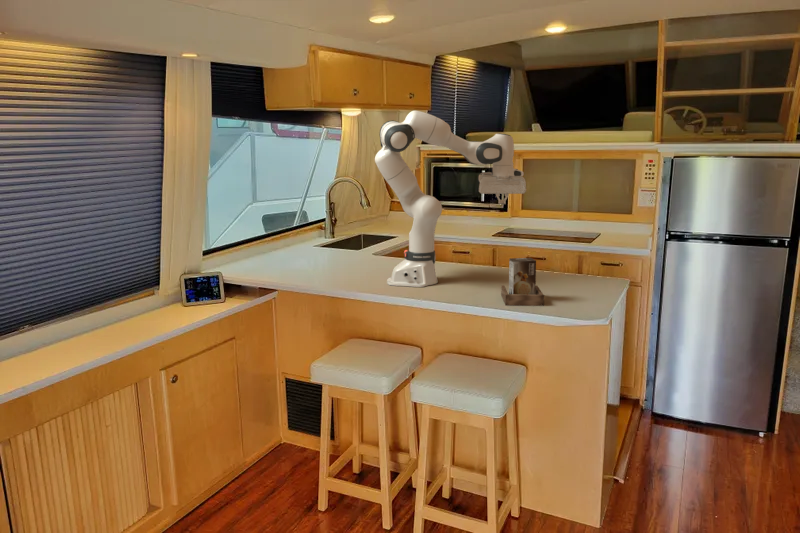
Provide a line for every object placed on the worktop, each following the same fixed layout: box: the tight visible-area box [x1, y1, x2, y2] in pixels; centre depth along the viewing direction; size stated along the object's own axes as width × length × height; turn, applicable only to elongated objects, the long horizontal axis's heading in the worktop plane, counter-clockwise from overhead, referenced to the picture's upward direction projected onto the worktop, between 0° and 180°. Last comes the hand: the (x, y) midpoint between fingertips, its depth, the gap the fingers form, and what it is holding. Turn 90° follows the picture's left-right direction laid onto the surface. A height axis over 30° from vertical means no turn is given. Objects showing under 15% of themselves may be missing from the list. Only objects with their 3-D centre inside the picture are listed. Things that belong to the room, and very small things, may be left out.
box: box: [500, 284, 545, 307], centre depth 230 cm, size 14×15×4 cm
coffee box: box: [508, 257, 537, 295], centre depth 230 cm, size 9×6×16 cm
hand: (501, 204), depth 256 cm, fingers closed
